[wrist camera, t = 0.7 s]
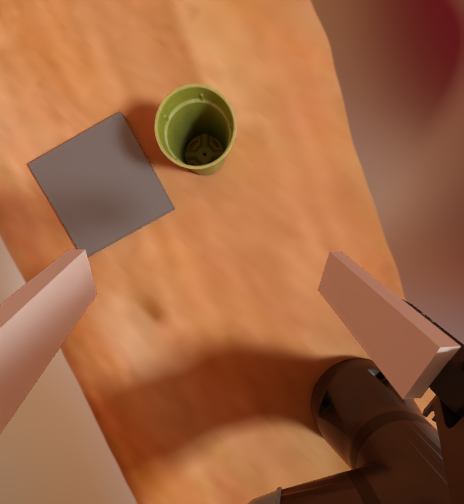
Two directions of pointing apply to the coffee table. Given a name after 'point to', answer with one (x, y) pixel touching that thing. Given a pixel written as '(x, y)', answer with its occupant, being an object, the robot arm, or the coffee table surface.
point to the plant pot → (195, 128)
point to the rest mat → (101, 185)
